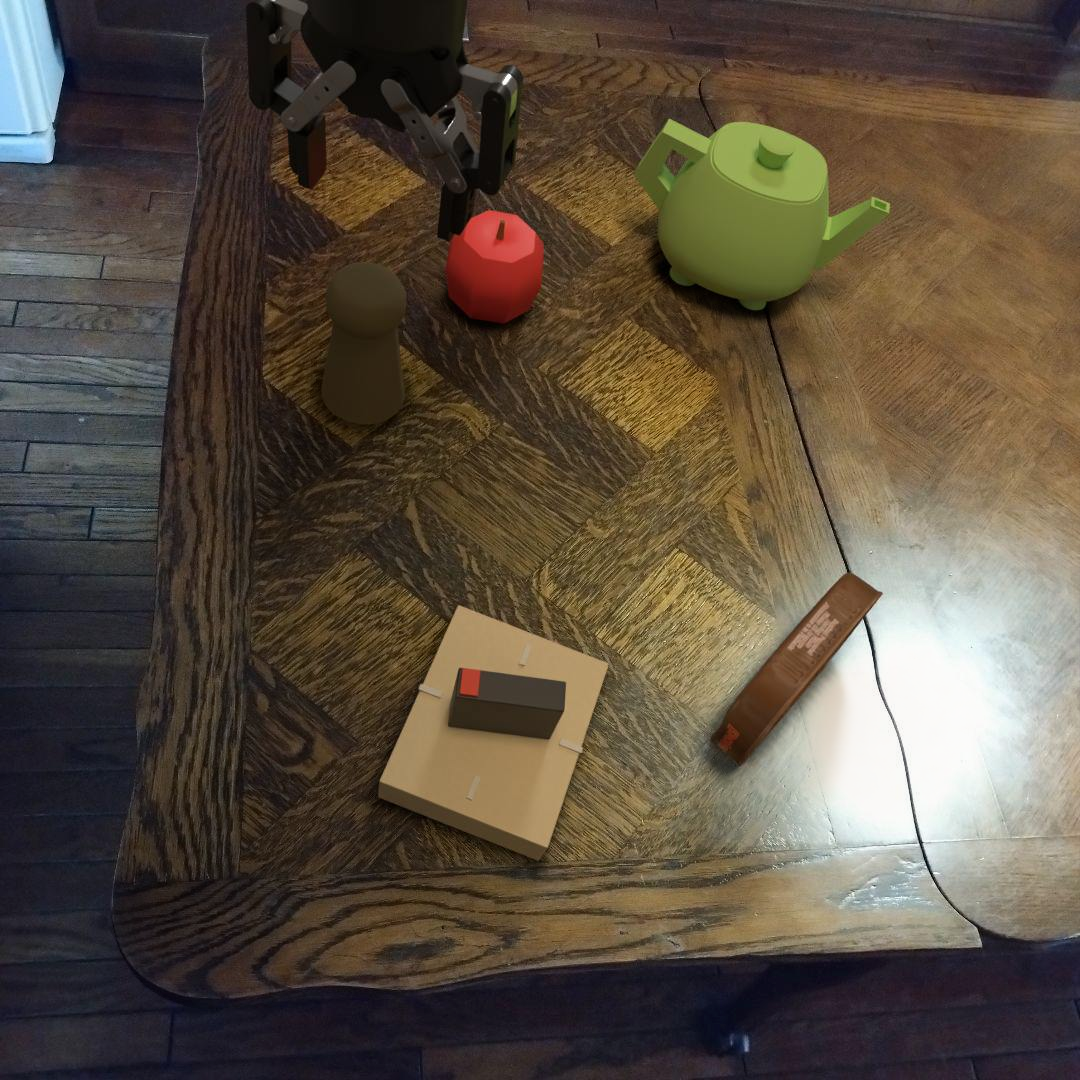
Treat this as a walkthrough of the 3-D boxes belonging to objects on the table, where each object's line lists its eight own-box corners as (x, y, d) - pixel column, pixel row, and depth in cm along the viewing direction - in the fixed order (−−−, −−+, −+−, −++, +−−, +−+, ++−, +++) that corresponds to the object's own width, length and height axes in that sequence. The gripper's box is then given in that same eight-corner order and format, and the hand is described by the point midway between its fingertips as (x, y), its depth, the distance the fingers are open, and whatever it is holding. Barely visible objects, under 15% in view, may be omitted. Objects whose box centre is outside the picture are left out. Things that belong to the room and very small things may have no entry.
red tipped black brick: (552, 710, 58) (567, 679, 54) (549, 740, 57) (565, 709, 53) (451, 697, 58) (459, 664, 54) (447, 726, 57) (455, 695, 53)
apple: (455, 344, 76) (466, 266, 69) (427, 270, 79) (435, 189, 73) (551, 330, 78) (571, 254, 72) (520, 259, 82) (536, 180, 75)
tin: (724, 786, 61) (775, 739, 54) (686, 751, 62) (730, 700, 55) (850, 636, 68) (909, 577, 61) (814, 606, 69) (867, 545, 62)
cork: (303, 393, 71) (297, 280, 62) (358, 347, 74) (361, 233, 65) (368, 438, 70) (372, 331, 61) (421, 389, 73) (433, 280, 64)
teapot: (845, 254, 89) (913, 135, 79) (824, 356, 82) (896, 239, 71) (637, 180, 90) (676, 52, 79) (598, 275, 82) (636, 147, 72)
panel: (540, 862, 57) (550, 848, 54) (375, 796, 57) (377, 779, 54) (600, 683, 63) (611, 662, 60) (452, 625, 63) (457, 602, 61)
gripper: (568, -75, 45) (517, 209, 58) (280, -179, 45) (297, 126, 59) (511, 6, 41) (471, 291, 54) (195, -110, 41) (234, 200, 55)
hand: (380, 205), depth 57 cm, fingers open, 8 cm apart
